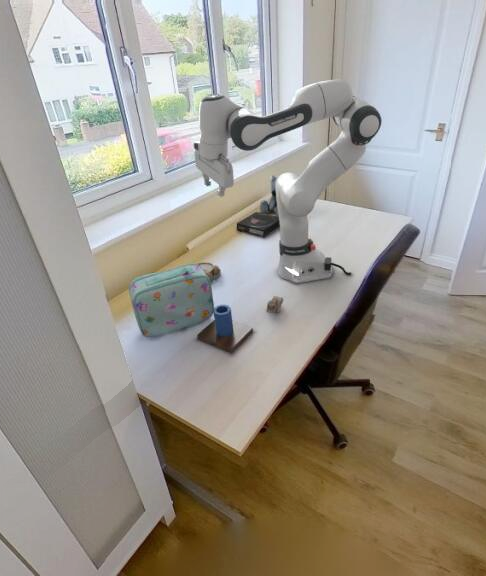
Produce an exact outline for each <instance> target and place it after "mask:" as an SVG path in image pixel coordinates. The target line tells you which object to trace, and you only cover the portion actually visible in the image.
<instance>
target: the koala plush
mask: <svg viewBox="0 0 486 576" xmlns="http://www.w3.org/2000/svg"><path fill="white" fill-rule="evenodd" d="M277 178H278V177H276V176H275V175H273V174H271V175H269V181H270V194H271V197H270V199H269V201H267V200H266V199H262V200H261V201H260V204H259V212H260V213H264V214H272V213H275V214H276V217H279V214H278V207H277V198H276V188H275V184H276V180H277Z"/></svg>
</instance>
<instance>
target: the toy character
mask: <svg viewBox="0 0 486 576" xmlns="http://www.w3.org/2000/svg"><path fill="white" fill-rule="evenodd" d="M283 302H284V298H283V297H282V296H277V295H273V296H272V298H271V299H270V300H269V301H268V302H267V305H266V310H265V311H266V312H267V313H268V314H273V312H274V313H277V314H278V313H279V311H280V310H281V307H282V305H283Z"/></svg>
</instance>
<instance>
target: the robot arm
mask: <svg viewBox="0 0 486 576" xmlns="http://www.w3.org/2000/svg"><path fill="white" fill-rule="evenodd" d="M330 118H332V120H333V122H334V124H335V125H336V126H338V127H339V128H340V129H341V132H340V134H339V135H338V136H337V138H336V139H335V140H334V141H333V142H331V143H330V144H328V145H327V146H326V147H325V148H324V149H322V150H321V151H320V152H319V153H318V154H316V155H315V156H314V157H313V158H311V160H310V161H309V162H308V165H307V167H306V168H305V169H304V171H303V172H302V173H301V174H300V175H298V174H297V173H296V174H295V173H293V172H289V171H288V172H284V173H281V174H280V175H279V176H278V177H276V178H277V180H276V184H275V188H276V198H277V207H278V214H279V221H280V227H279V242H278V252H279V262H278V267H277V270H276V273H277V275H278V276H279V277H280V278H282V279H284V280H287V281H290V282H291V283H293V284H303V283H308V282H309V283H310V282H313V281H320V280H326V279H330V278H331V277H332V275H333V268H332V266H333V267H336V268H339V269H340V270H342V272H343V273H344V275H347V276H349V275H350V276H351V275H352V272H348V271H347V270H345V268H344V267H343V266H342V265H340V264H337V263H334V262H332V257H329V256H327V257H326V256H325V254H324V253H323V251H321V250H319V249H317V246H316V244H314V241H313V240H312V238H311V237H309V219H308V215H309V214H310V213H312V211H313V210H314V208H315V205H316V203H317V201H318V200H319V198H320V197H321V195H322V194H323V193H324V192H325V191H326V189H328V188H329V186H330V185H331V184H333V183H334V182H335V181H336V180H338V179H339V178H340V177H341V176H342V175H344V174H345V173H347V171H349V170H350V169H351V168H352V167H353V166H355V164H357V162H358V161H359V160H360V159H361V158H362V157H363V156H364V154H365V153H366V151H367V144H369V143H370V142H371V141H372V140H373V139H374V138H375V137H376V136H377V134H378V132H379V131H380V129H381V126H382V116H381V113H380V112H379V110H378V109H377V108H375V107H374V106H373V105H371V104H370V103H369V102H367V101H365V100H364V99H360V98H358V97H356V96H355V95H353V89H352V87H351V85H350V83H349V82H348V81H347V80H345V79H341V78H340V79H339V78H337V79H328V80H323V81H317V82H314V83H311V84H308V85H305V86H303V87H301V88H299V89H297V90H296V91H295V92H294V94H293V95H292V98H291V103H290V105H288V106H287V107H286V108H284V109H281V110H278V111H275V112H272V113H269V114H266V115H263V116H262V115H261V116H260V115H256V114H255V113H254V112H253V111H252V110H251V109H250V107H249V108H248V107H247V106H245V105H241V104H239V103H236V102H235V101H232V99H230V98H229V97H227V96H226V95H225V94H224V93H210V94H207V95H205V96H203V97H202V98H201V100H200V103H199V110H198V127H199V130H200V135H199V141H194V142H193V145H192V146H193V150H194V163H195V167H196V169H197V170H198V171H200V172H201V173H202V174H201V175H202V178H203V183H204V185H205V186H206V187H211V185H212V181H213V182H215V184H218V187H219V189H217V196H219V197H220V198H222V197H224V196H225V192H226V189H228V188H232V187H233V186H234V167H233V165H232V163H231V162H230V159H229V158H228V155H229V154H228V152H229V151H228V149H229V145H228V144H229V139H231V141H232V143H233V144H234V146H235V147H236V148H238V149H239V150H242V151H245V152H248V151H249V152H251V151H254V150H256V149H258V148H259V147H260V146H262V145H264V143H266V142H267V141H268V140H270V139H272V138H275V137H278V136H280V135H283V134H286V133H288V132H291V131H294V130H296V129H299V128H301V127H304V126H306V125H308V124H312V123H316V122H319V121H322V120H326V119H330ZM211 180H212V181H211Z"/></svg>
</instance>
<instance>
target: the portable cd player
mask: <svg viewBox="0 0 486 576" xmlns="http://www.w3.org/2000/svg"><path fill="white" fill-rule="evenodd" d="M235 228H236V231H238V232H242V233H245V234H249V235H253V236H256V237H260V238H263V239H265V238H266V237H267V236H269V235H270V234H272V233H273V232H275V231H276V230H278V229H280V221H279V217H277V216H275V215H272V214H269V213H267V214H264V213H262V212H261V211H255V212H253V213H251V214H250V215H248V216H246V217H244V218H243V219H241V220H239V221H238V222H236V227H235Z"/></svg>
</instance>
